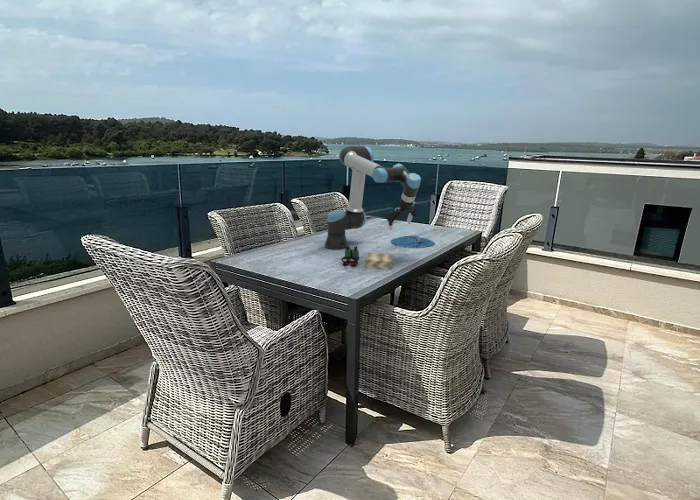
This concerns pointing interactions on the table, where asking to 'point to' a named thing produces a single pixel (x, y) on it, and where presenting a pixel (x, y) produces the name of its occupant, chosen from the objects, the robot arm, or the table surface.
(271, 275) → the table surface
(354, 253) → the binoculars
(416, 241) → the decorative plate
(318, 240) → the table surface
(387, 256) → the birch block
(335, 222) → the robot arm
